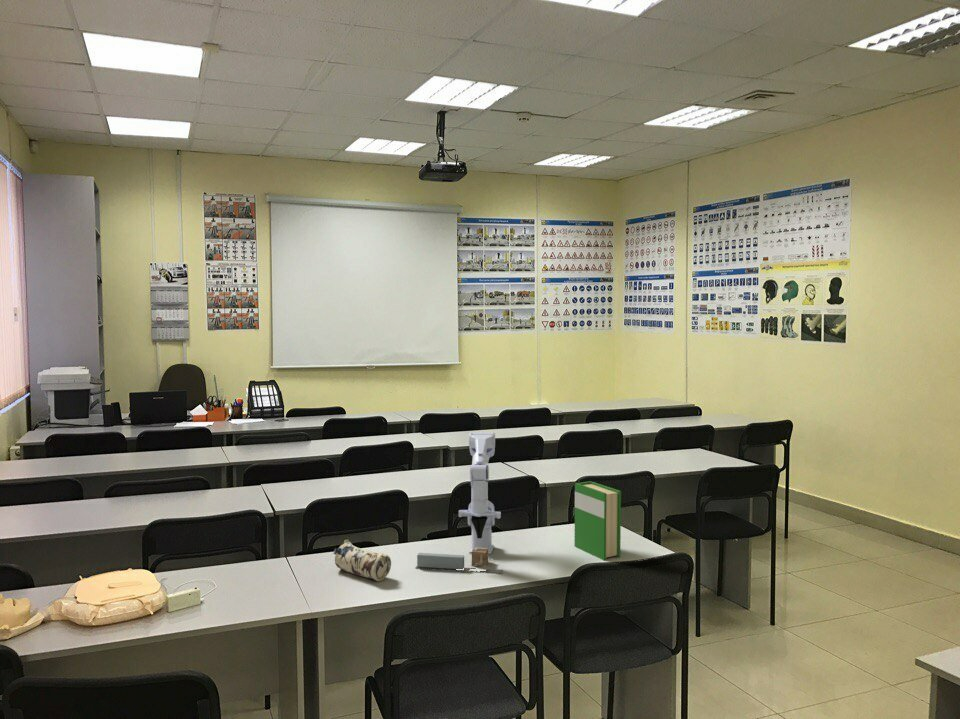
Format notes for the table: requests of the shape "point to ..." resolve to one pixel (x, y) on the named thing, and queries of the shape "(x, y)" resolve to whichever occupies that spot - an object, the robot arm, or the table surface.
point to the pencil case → (362, 561)
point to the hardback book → (597, 519)
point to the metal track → (464, 569)
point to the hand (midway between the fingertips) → (479, 537)
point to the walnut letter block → (480, 556)
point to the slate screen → (440, 560)
